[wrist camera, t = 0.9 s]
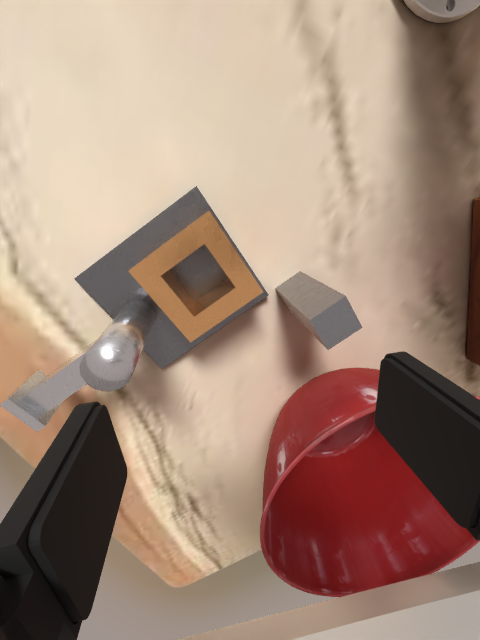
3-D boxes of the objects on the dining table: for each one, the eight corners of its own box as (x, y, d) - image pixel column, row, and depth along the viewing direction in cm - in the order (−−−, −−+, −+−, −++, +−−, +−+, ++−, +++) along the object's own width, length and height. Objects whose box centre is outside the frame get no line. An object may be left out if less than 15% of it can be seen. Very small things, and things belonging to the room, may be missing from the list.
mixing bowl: (203, 386, 37) (206, 494, 23) (394, 290, 36) (524, 340, 22) (281, 504, 48) (317, 627, 33) (430, 432, 47) (533, 528, 32)
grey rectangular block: (300, 271, 33) (345, 295, 23) (313, 294, 34) (362, 327, 24) (275, 288, 33) (309, 320, 23) (289, 310, 35) (327, 349, 25)
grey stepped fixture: (196, 187, 28) (195, 165, 16) (266, 292, 33) (305, 336, 21) (14, 325, 30) (-106, 396, 18) (106, 404, 36) (60, 499, 24)
